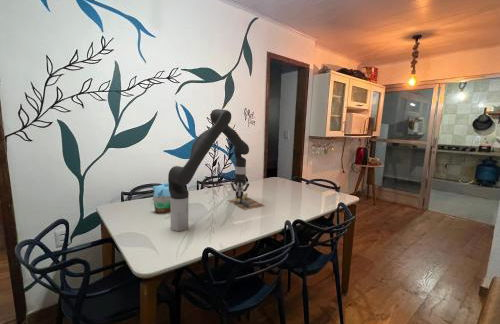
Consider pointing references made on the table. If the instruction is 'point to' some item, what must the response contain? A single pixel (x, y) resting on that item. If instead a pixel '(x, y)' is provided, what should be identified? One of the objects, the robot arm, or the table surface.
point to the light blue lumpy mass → (161, 190)
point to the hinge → (242, 200)
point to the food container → (161, 204)
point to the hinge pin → (239, 192)
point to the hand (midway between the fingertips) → (239, 196)
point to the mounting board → (252, 205)
